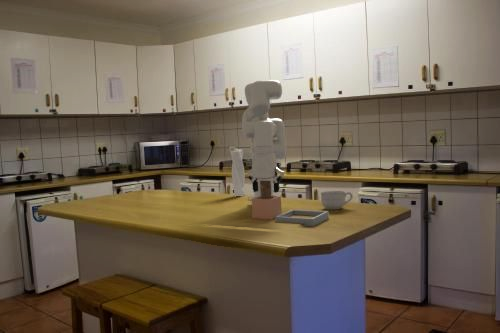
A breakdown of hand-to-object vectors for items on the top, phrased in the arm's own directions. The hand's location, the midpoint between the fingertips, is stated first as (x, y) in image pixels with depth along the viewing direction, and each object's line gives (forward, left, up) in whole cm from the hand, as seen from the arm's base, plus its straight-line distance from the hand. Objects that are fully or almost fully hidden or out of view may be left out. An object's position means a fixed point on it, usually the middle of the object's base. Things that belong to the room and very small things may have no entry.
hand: (266, 191), depth 196 cm
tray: (+16, 0, -11) cm, 20 cm away
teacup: (+20, +29, -12) cm, 37 cm away
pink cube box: (0, 0, -11) cm, 11 cm away
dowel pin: (0, 0, -10) cm, 10 cm away
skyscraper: (-47, +54, -12) cm, 73 cm away
